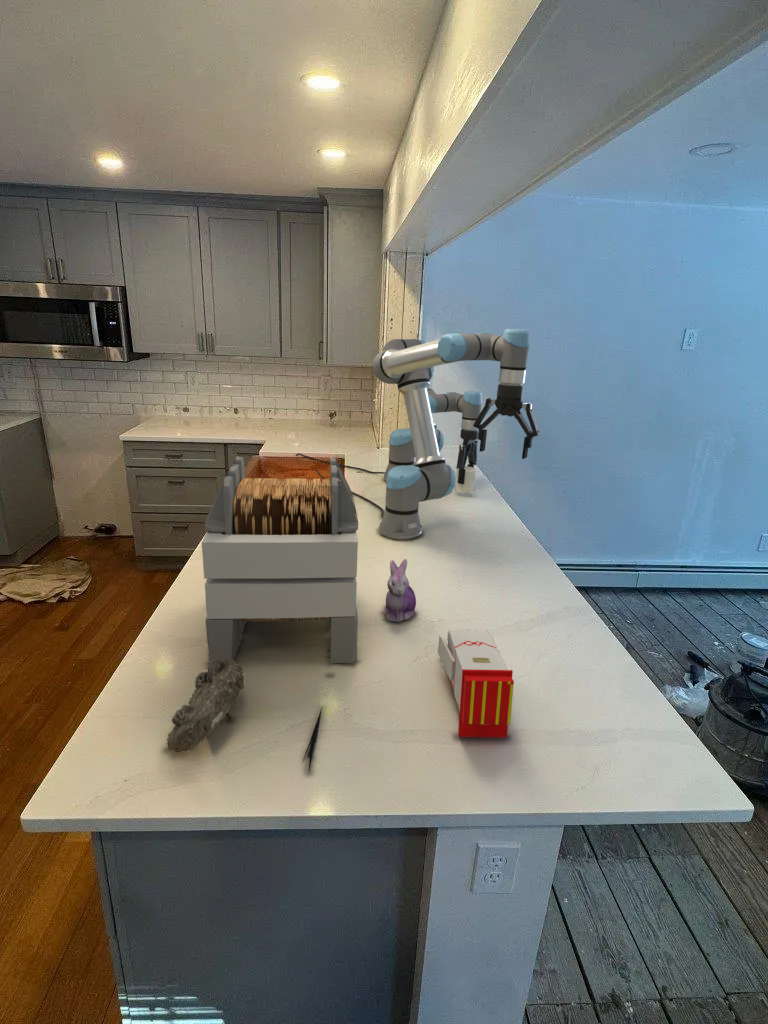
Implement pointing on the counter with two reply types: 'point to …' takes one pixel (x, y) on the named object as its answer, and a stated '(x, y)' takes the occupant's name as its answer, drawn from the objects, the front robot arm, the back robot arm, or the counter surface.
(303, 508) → the record crate stand
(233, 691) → the fossil
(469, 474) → the cylinder
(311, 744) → the feather
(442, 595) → the counter surface
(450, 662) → the toy
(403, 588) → the figurine
